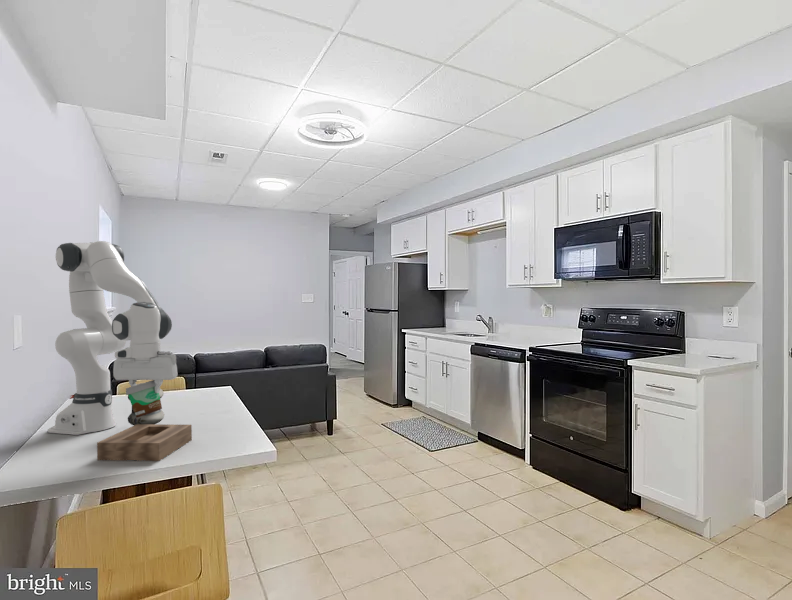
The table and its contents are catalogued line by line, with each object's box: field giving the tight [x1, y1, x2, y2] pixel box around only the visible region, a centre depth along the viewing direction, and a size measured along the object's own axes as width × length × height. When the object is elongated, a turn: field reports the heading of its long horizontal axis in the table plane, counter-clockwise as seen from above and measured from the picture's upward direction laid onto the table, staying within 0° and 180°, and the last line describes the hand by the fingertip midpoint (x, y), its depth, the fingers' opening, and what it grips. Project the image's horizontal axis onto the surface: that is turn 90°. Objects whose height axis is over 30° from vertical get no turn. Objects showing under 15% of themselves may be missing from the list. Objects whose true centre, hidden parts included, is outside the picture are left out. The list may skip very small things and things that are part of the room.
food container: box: [125, 380, 163, 418], centre depth 153 cm, size 12×6×10 cm, turn 173°
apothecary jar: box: [127, 382, 165, 426], centre depth 173 cm, size 12×12×18 cm
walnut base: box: [96, 423, 193, 462], centre depth 153 cm, size 20×20×6 cm
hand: (146, 393), depth 153 cm, fingers closed on food container, 5 cm apart
